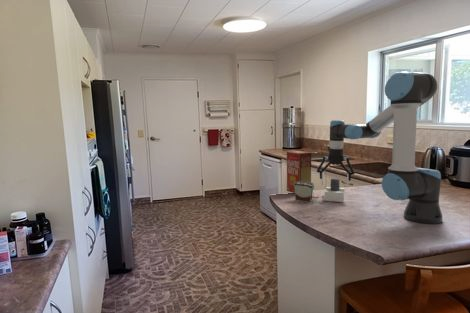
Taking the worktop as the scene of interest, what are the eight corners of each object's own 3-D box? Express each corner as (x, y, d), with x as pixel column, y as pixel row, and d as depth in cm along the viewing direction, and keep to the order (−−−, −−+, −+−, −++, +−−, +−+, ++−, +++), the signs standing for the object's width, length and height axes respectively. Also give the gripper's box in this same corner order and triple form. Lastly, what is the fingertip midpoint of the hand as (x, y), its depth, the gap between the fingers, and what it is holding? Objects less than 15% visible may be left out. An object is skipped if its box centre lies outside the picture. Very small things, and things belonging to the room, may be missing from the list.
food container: (318, 201, 177) (318, 183, 175) (312, 203, 172) (313, 185, 171) (298, 197, 185) (299, 180, 184) (293, 199, 180) (293, 182, 179)
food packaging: (285, 190, 201) (286, 151, 198) (297, 188, 206) (297, 150, 202) (299, 195, 190) (300, 153, 186) (311, 193, 194) (312, 152, 191)
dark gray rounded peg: (338, 199, 179) (339, 180, 177) (329, 199, 181) (330, 179, 179) (339, 197, 183) (339, 178, 182) (330, 197, 185) (331, 178, 184)
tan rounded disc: (318, 198, 182) (318, 197, 182) (306, 197, 185) (306, 196, 185) (320, 195, 189) (320, 194, 189) (308, 194, 191) (308, 193, 191)
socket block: (343, 202, 174) (343, 193, 173) (324, 200, 177) (324, 191, 177) (344, 196, 186) (344, 187, 186) (326, 194, 190) (326, 186, 189)
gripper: (360, 148, 177) (358, 185, 180) (314, 146, 186) (313, 182, 189) (360, 149, 170) (358, 188, 173) (312, 148, 179) (311, 185, 182)
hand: (334, 185), depth 181 cm, fingers open, 13 cm apart
